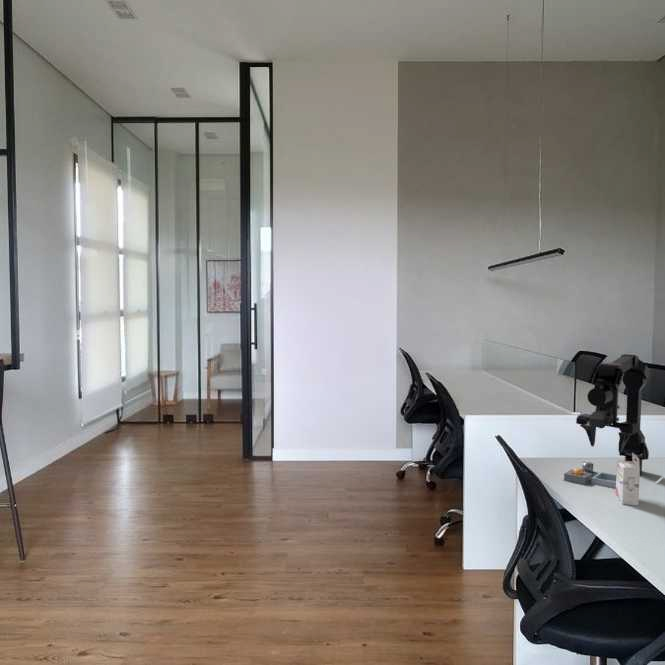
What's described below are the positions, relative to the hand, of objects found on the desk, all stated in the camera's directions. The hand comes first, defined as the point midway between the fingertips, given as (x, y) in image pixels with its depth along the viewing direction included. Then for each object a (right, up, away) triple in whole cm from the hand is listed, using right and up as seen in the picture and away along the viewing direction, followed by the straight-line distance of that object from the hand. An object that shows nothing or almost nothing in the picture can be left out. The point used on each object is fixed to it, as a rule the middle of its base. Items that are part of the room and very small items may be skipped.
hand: (606, 449), depth 200 cm
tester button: (-5, -11, +10) cm, 16 cm away
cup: (+5, -14, +7) cm, 16 cm away
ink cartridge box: (+3, -15, -8) cm, 17 cm away
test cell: (+1, -12, +17) cm, 21 cm away
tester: (-2, -13, +13) cm, 19 cm away
